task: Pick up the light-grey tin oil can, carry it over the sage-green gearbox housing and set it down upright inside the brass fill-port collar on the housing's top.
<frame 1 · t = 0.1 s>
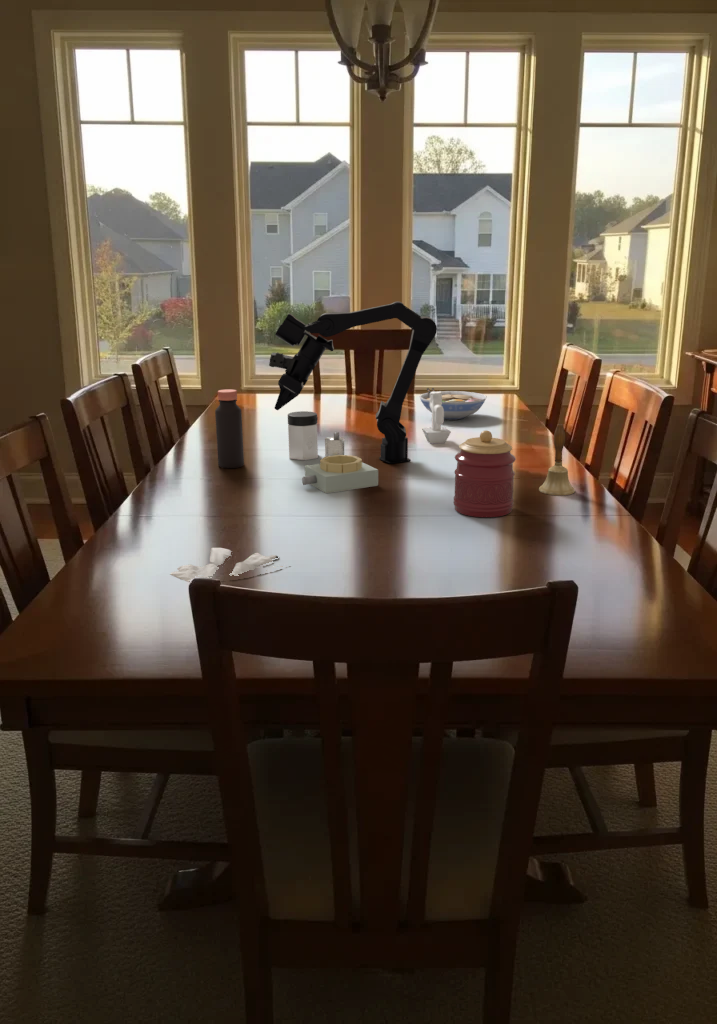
hand: (278, 406, 221), 15 cm above the table, tool tilted 35°, fingers open, 9 cm apart
hand bell: (556, 491, 195), on the table
bottle: (231, 466, 220), on the table
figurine: (435, 442, 246), on the table
canister: (482, 510, 182), on the table
gearbox: (341, 483, 203), on the table
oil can: (335, 468, 217), on the table
jar: (303, 457, 229), on the table
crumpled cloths: (236, 568, 151), on the table
ramen bowl: (452, 418, 281), on the table
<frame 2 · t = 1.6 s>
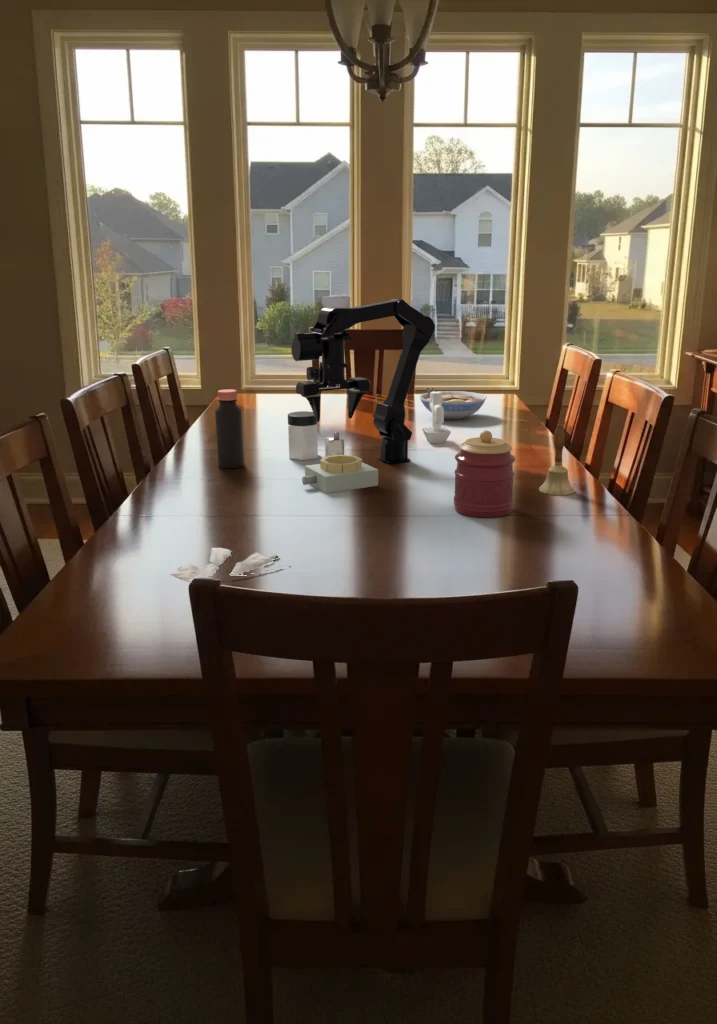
hand: (334, 419, 213), 13 cm above the table, tool pointing down, fingers open, 9 cm apart
nothing on the table moved.
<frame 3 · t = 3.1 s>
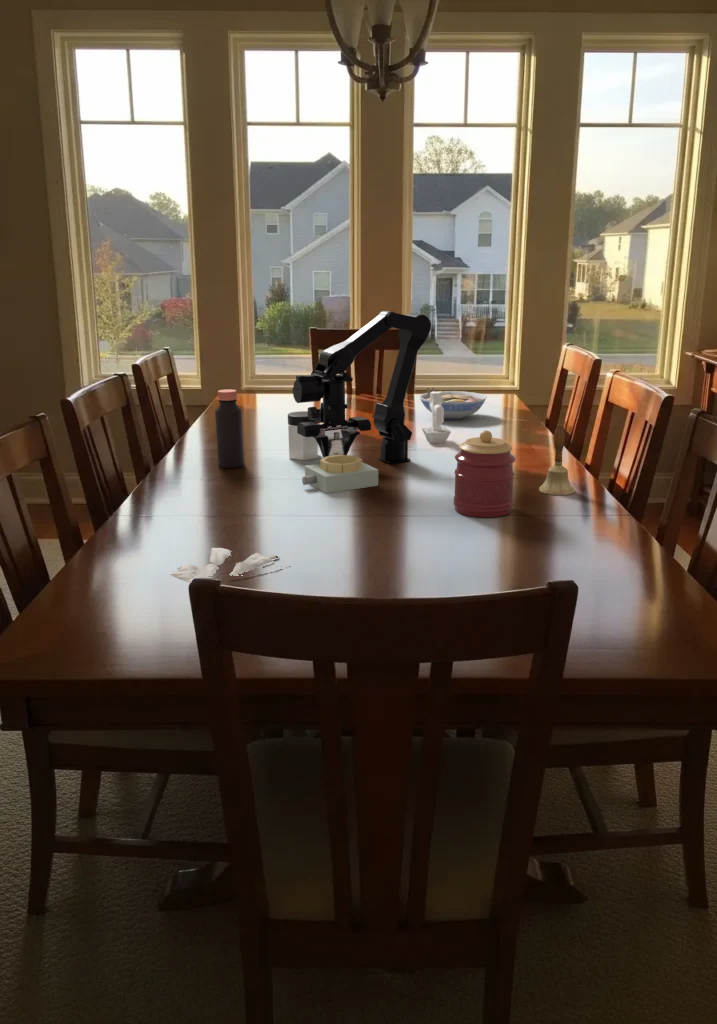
hand: (334, 459, 216), 3 cm above the table, tool pointing down, fingers closed on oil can, 5 cm apart
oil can: (335, 468, 217), on the table, touching gripper
everything else where it was.
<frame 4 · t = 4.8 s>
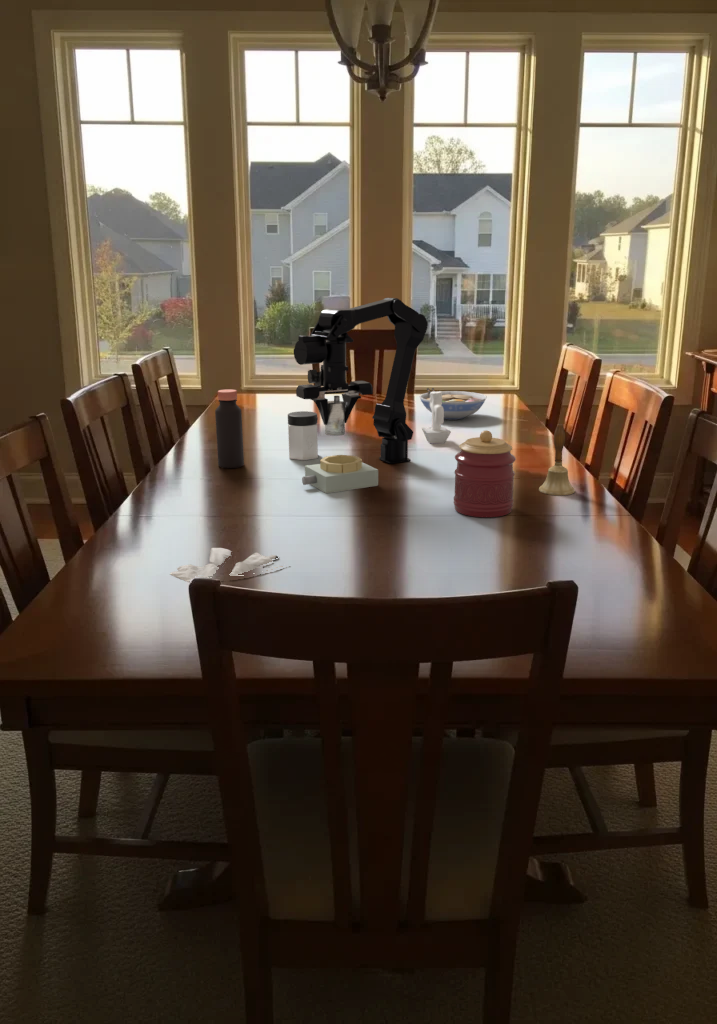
hand: (335, 423, 209), 13 cm above the table, tool pointing down, fingers closed on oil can, 5 cm apart
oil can: (335, 433, 210), point 10 cm above the table, touching gripper
everything else where it was.
when the fingers open (7 cm above the table, at t = 6.7 s): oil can stays where it is, resting on gearbox.
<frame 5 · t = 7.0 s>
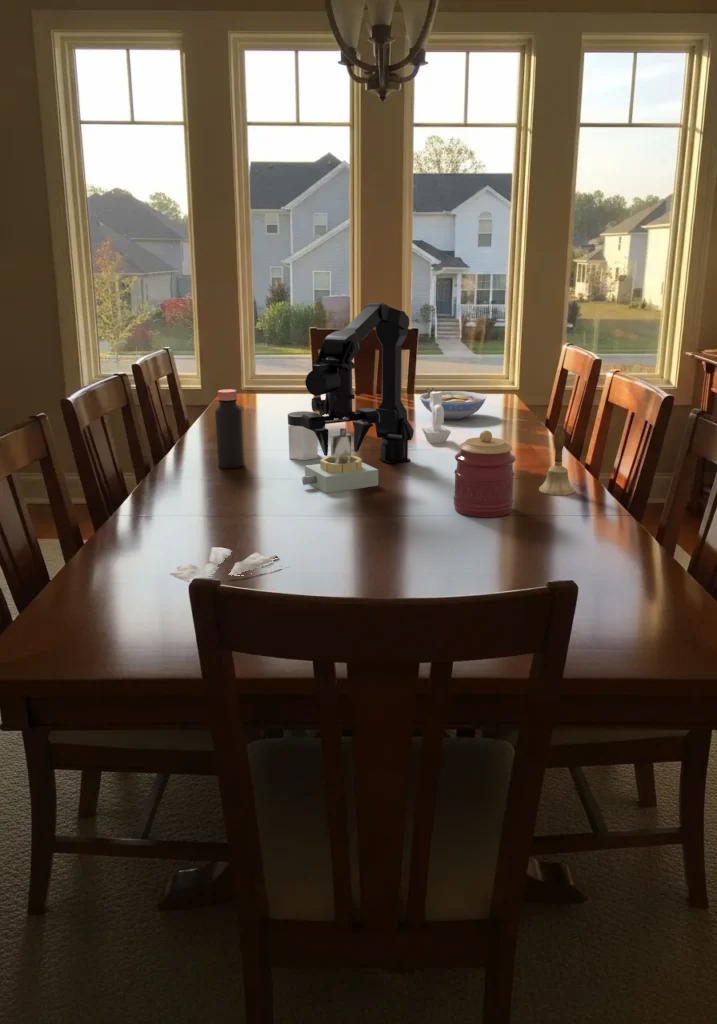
hand: (341, 453, 200), 7 cm above the table, tool pointing down, fingers open, 8 cm apart
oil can: (341, 467, 201), point 4 cm above the table, touching gearbox
everything else where it was.
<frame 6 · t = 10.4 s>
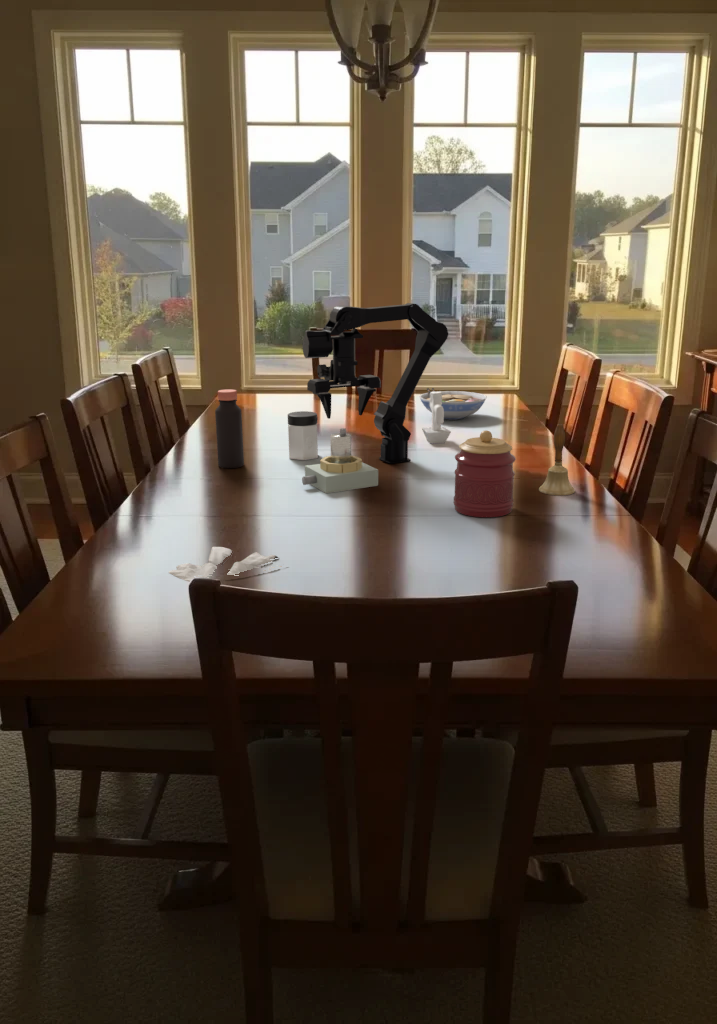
hand: (344, 416, 216), 13 cm above the table, tool pointing down, fingers open, 9 cm apart
nothing on the table moved.
at the end: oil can 0.1 cm off-centre on the gearbox, point 4.0 cm above the gearbox's base; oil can tilted 0°; the gripper is holding nothing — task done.
